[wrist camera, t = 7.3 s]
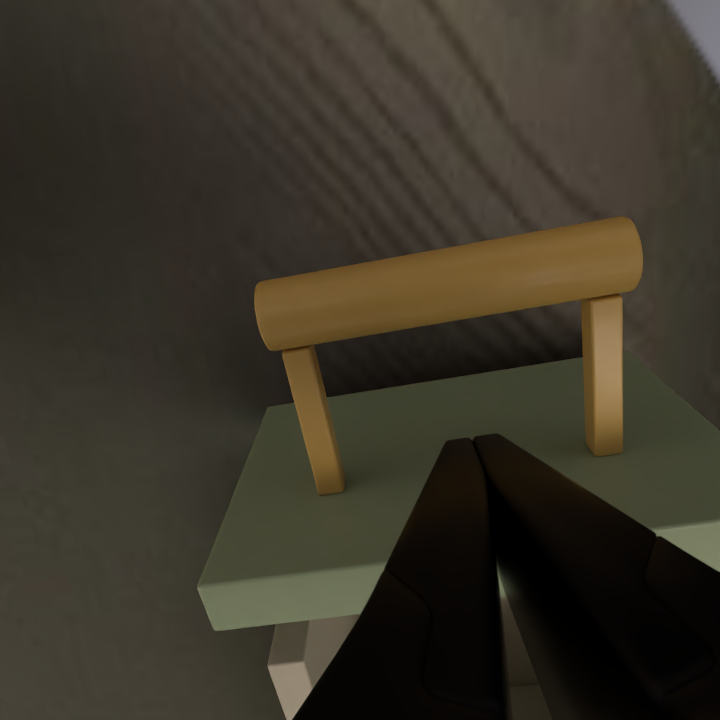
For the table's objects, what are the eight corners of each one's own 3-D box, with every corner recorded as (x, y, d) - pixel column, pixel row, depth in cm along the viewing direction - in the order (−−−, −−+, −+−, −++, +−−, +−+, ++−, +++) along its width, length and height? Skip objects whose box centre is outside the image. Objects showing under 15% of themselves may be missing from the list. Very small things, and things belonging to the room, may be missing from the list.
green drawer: (222, 251, 15) (99, 348, 8) (627, 175, 14) (858, 215, 7) (348, 689, 22) (335, 938, 15) (627, 660, 21) (747, 913, 14)
